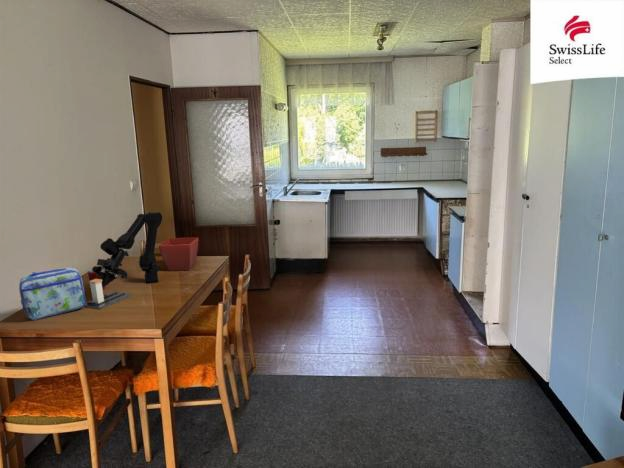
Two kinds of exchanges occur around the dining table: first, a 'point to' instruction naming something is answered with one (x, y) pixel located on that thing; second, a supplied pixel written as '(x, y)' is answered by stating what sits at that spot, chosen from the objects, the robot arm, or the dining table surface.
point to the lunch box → (51, 292)
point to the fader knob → (97, 290)
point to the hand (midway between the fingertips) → (101, 287)
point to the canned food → (93, 276)
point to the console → (108, 300)
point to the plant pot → (179, 253)
